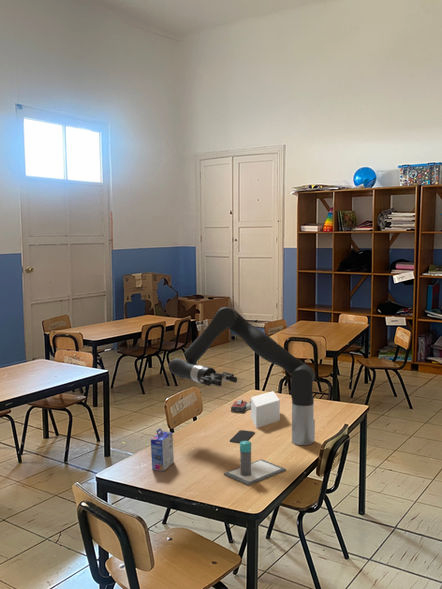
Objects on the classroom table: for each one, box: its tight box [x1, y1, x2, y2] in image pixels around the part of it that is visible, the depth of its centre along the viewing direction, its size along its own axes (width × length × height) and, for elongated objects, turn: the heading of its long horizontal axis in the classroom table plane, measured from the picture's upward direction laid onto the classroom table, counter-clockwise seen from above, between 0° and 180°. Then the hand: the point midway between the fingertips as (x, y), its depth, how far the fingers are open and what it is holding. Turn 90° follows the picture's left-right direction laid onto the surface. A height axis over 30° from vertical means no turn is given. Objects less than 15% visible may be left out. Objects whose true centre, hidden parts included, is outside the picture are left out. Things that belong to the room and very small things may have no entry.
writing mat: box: [223, 458, 287, 486], centre depth 219 cm, size 20×13×1 cm, turn 132°
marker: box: [239, 440, 252, 476], centre depth 215 cm, size 4×4×12 cm
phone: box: [229, 429, 256, 444], centre depth 257 cm, size 7×1×15 cm
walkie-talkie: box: [230, 398, 251, 414], centre depth 301 cm, size 9×4×20 cm
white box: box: [250, 390, 281, 429], centre depth 282 cm, size 14×29×10 cm, turn 159°
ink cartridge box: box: [150, 428, 175, 472], centre depth 225 cm, size 10×6×14 cm, turn 161°
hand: (228, 381), depth 235 cm, fingers open, 8 cm apart
